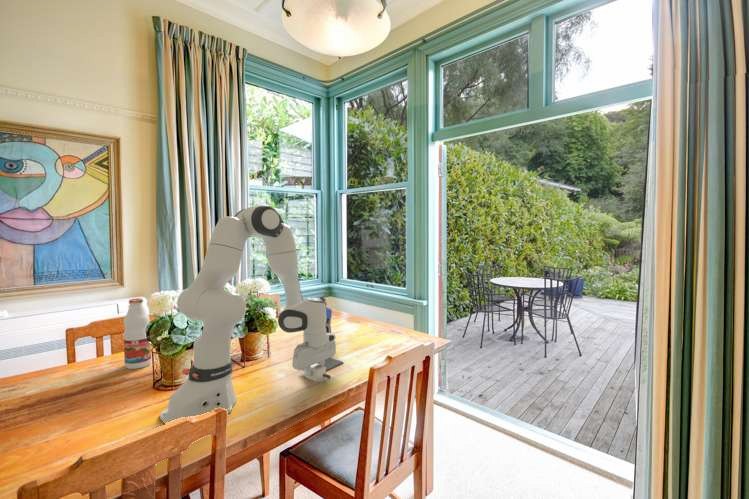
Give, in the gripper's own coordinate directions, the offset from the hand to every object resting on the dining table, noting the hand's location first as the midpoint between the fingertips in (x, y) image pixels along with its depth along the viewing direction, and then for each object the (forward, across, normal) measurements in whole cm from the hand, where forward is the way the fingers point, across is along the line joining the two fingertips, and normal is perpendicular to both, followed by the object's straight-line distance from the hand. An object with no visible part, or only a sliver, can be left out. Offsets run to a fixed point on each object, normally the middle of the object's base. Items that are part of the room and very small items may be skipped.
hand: (314, 373), depth 141 cm
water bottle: (+2, +25, +21) cm, 33 cm away
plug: (+2, 0, 0) cm, 2 cm away
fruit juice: (+2, -37, +67) cm, 77 cm away
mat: (+2, +11, +8) cm, 14 cm away
